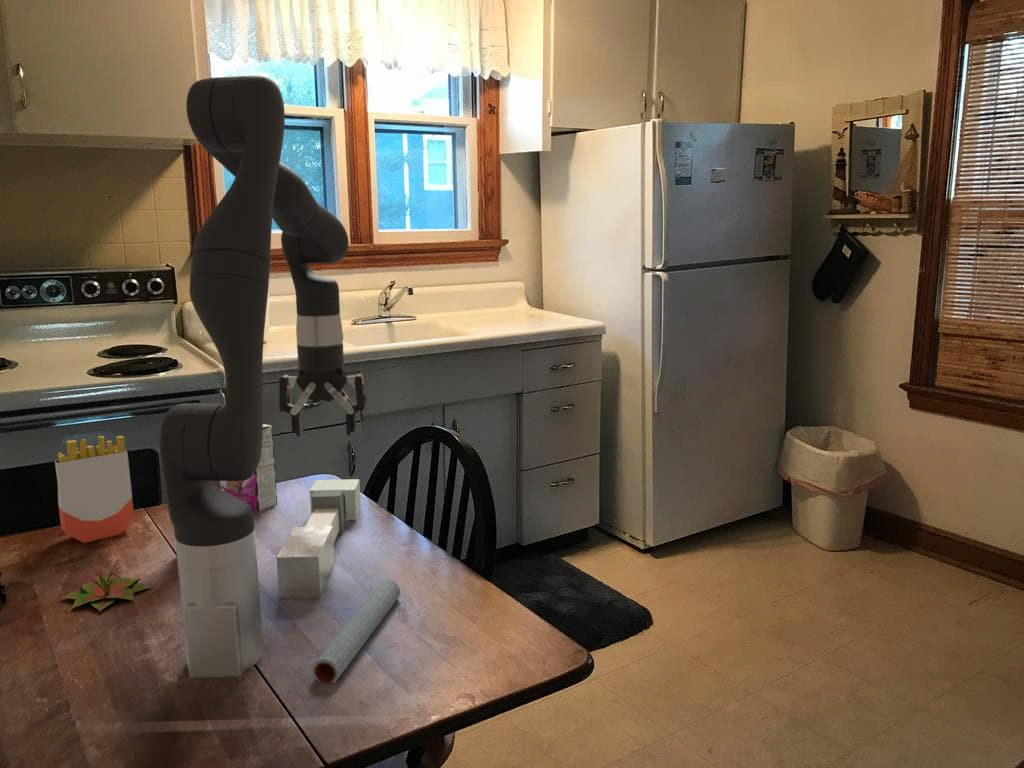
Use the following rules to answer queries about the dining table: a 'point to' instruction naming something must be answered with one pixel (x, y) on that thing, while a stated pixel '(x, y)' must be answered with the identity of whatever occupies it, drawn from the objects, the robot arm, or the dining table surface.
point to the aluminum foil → (355, 633)
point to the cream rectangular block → (305, 562)
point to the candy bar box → (257, 479)
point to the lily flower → (106, 590)
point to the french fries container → (94, 490)
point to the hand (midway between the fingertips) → (324, 434)
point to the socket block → (349, 494)
